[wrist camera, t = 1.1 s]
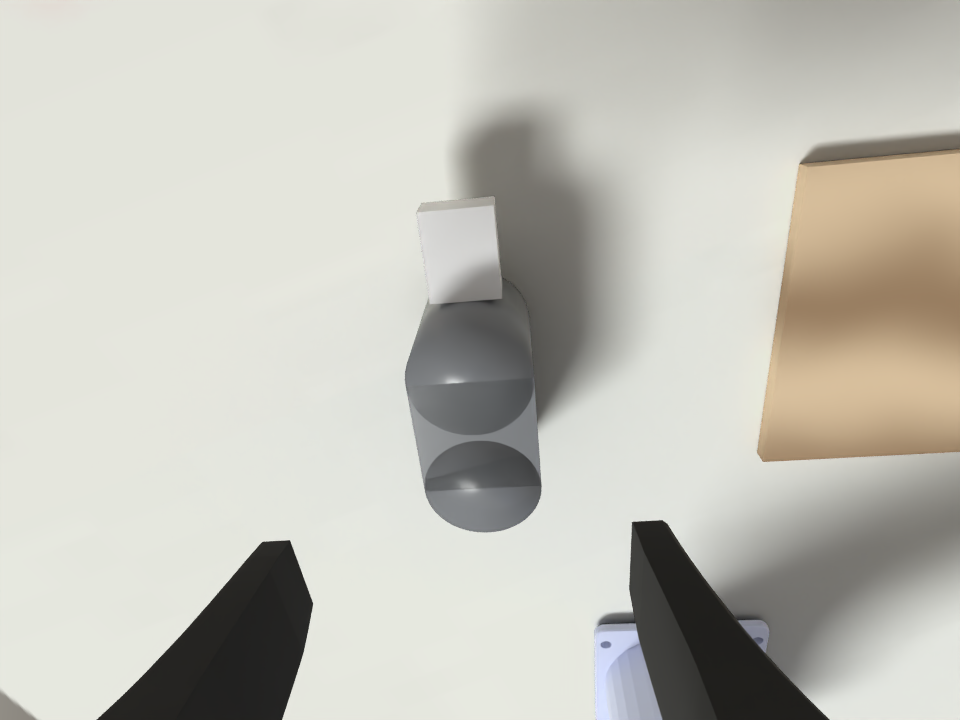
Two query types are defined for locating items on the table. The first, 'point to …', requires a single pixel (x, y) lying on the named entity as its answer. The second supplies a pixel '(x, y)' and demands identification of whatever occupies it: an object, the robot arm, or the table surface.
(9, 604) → the table surface
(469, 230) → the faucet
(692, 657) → the robot arm
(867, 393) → the pad
